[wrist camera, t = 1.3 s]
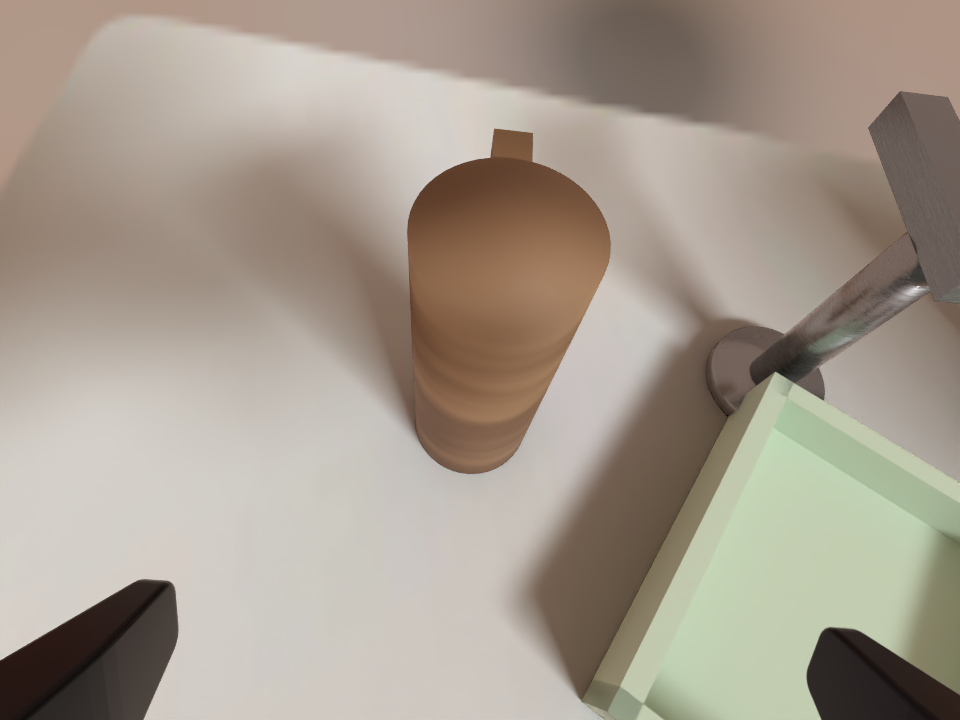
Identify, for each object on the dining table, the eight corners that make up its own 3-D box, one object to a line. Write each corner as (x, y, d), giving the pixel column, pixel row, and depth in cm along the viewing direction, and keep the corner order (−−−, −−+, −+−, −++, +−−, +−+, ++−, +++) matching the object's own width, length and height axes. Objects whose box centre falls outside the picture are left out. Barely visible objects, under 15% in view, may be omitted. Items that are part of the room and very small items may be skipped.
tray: (921, 969, 16) (1017, 1034, 14) (581, 701, 19) (607, 711, 16) (1004, 567, 22) (1083, 557, 20) (737, 400, 25) (775, 371, 22)
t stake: (824, 439, 24) (1106, 300, 14) (713, 429, 24) (922, 280, 14) (790, 296, 28) (998, 103, 18) (693, 286, 27) (848, 84, 17)
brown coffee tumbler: (523, 478, 22) (616, 329, 11) (409, 469, 22) (395, 308, 11) (526, 351, 25) (603, 134, 14) (424, 342, 24) (424, 114, 14)
